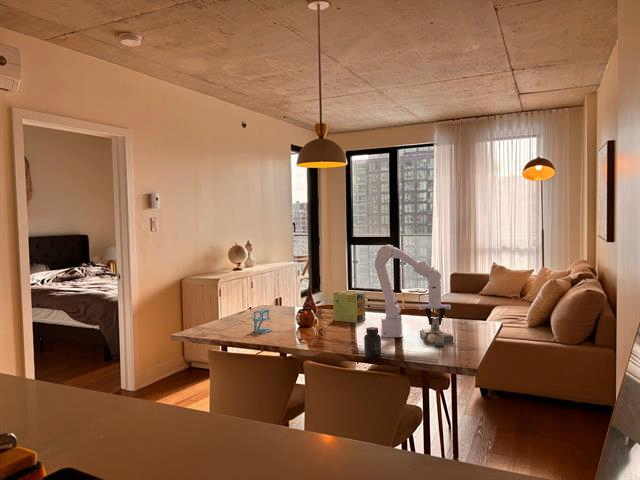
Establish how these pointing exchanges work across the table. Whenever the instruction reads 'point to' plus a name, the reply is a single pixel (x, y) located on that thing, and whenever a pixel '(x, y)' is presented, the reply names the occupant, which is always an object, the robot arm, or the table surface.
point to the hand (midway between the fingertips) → (434, 324)
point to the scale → (429, 335)
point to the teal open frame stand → (261, 321)
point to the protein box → (349, 306)
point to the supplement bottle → (372, 343)
